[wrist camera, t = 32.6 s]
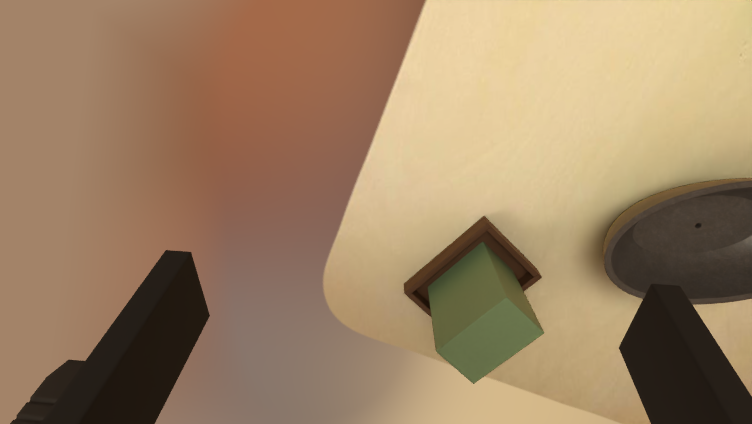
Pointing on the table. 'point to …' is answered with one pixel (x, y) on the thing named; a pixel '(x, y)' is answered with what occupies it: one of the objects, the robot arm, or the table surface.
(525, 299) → the green box
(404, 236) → the table surface
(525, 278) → the tray
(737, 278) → the bowl
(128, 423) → the robot arm
